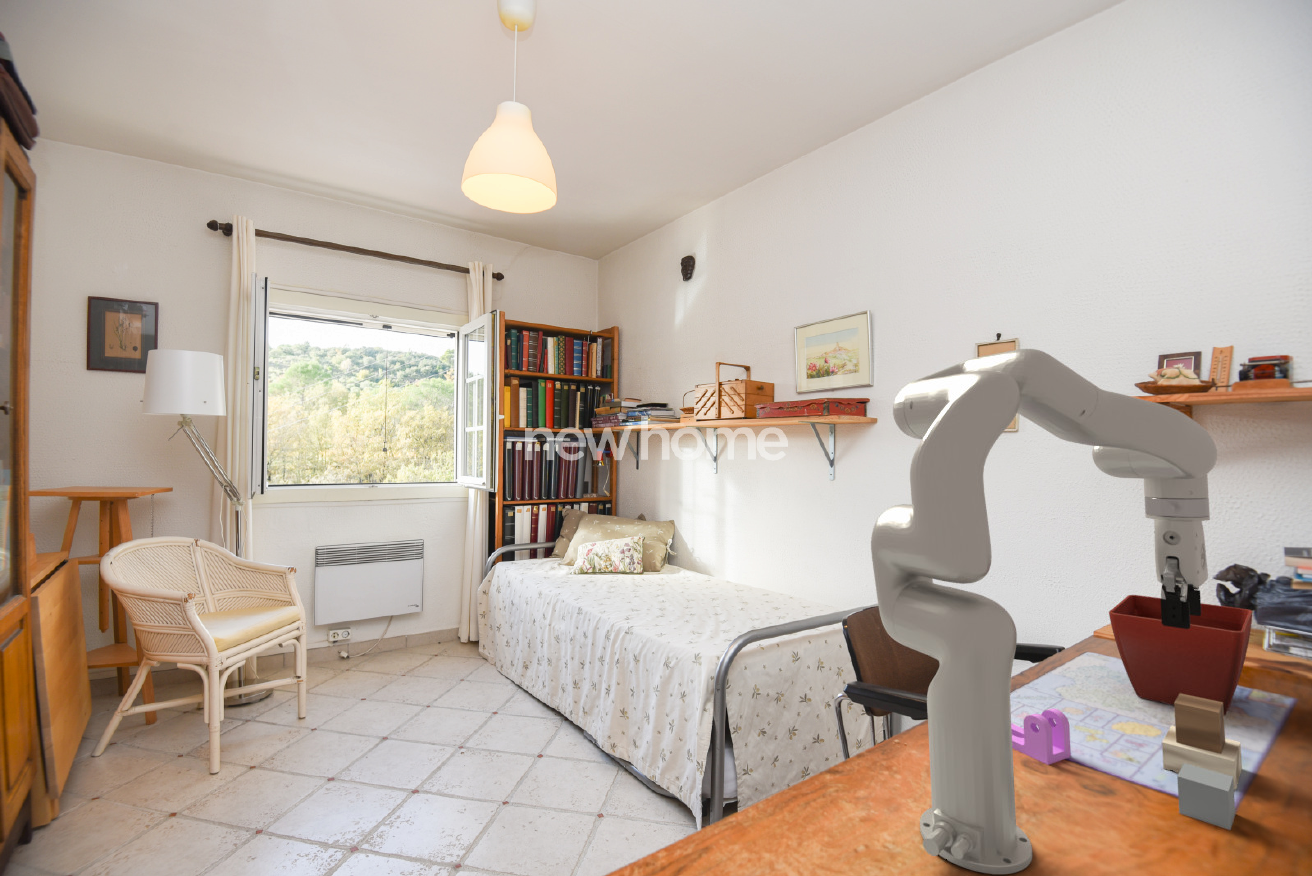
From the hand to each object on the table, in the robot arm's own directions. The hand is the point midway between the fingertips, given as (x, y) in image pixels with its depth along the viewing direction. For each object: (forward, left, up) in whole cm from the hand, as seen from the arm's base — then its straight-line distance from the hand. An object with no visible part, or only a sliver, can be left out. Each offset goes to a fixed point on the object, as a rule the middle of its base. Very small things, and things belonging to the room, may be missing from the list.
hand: (1182, 620), depth 92 cm
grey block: (-13, -3, -23) cm, 26 cm away
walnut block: (+1, -1, -18) cm, 18 cm away
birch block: (+1, -1, -22) cm, 22 cm away
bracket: (-9, +20, -23) cm, 32 cm away
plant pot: (+32, +5, -23) cm, 39 cm away
